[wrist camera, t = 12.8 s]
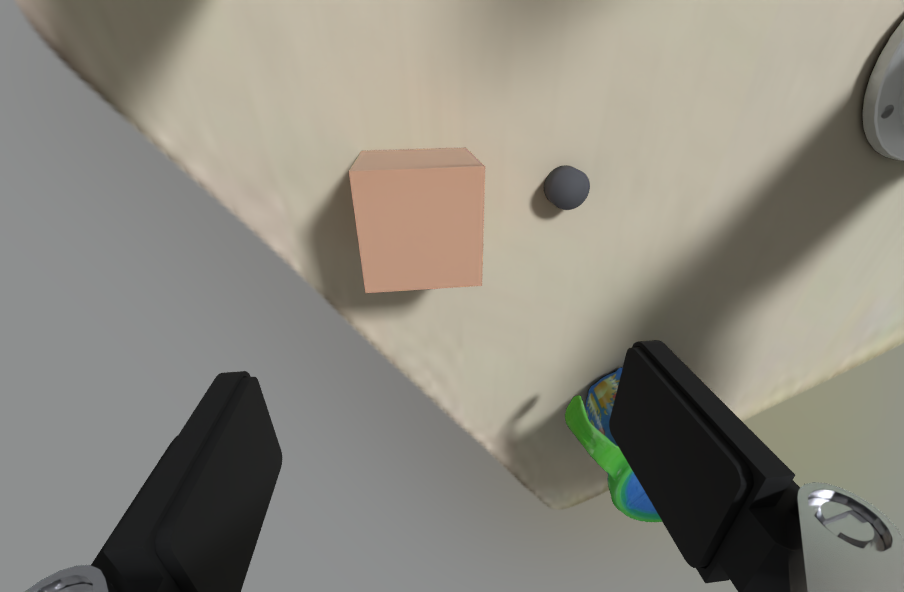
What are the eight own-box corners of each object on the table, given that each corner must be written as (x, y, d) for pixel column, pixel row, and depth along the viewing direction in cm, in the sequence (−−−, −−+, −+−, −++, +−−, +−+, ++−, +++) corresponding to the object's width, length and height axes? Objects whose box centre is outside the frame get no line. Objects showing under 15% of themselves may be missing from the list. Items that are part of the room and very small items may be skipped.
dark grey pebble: (588, 176, 28) (597, 181, 27) (565, 210, 29) (573, 216, 28) (558, 158, 28) (566, 161, 26) (536, 193, 29) (543, 198, 27)
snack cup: (527, 407, 39) (564, 503, 30) (591, 327, 35) (655, 409, 26) (639, 446, 44) (699, 538, 35) (706, 379, 40) (794, 464, 31)
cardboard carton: (465, 147, 26) (485, 166, 20) (465, 244, 30) (482, 285, 24) (361, 150, 26) (348, 171, 20) (373, 249, 29) (365, 293, 23)
